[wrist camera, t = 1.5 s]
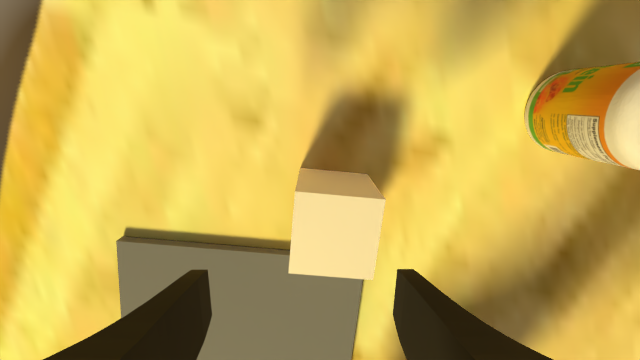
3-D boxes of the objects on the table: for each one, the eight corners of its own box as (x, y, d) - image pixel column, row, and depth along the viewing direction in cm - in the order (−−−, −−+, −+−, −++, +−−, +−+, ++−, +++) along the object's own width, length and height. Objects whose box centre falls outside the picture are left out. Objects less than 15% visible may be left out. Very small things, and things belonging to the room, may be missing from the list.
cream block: (367, 173, 23) (385, 199, 17) (358, 235, 24) (372, 280, 18) (300, 167, 22) (295, 191, 17) (295, 230, 23) (288, 273, 18)
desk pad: (364, 256, 24) (365, 261, 23) (345, 383, 27) (346, 392, 26) (123, 236, 23) (116, 241, 23) (130, 369, 26) (125, 377, 25)
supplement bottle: (589, 55, 21) (818, 17, 11) (609, 129, 22) (831, 151, 12) (511, 93, 21) (667, 88, 12) (534, 163, 22) (693, 210, 13)
